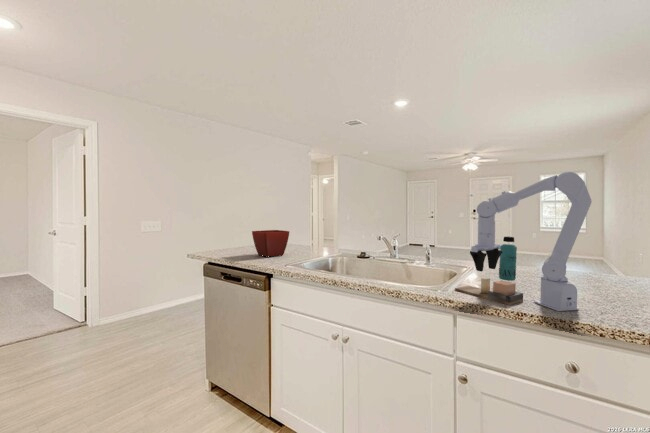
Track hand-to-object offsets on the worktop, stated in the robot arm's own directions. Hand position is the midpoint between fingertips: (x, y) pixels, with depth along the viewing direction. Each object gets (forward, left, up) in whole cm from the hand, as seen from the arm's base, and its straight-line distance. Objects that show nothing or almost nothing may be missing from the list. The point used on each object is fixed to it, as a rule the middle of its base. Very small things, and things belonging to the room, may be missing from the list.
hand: (485, 269), depth 115 cm
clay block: (-4, -1, -8) cm, 9 cm away
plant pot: (+109, +80, -10) cm, 136 cm away
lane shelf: (-1, 0, -9) cm, 9 cm away
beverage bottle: (+15, -22, -10) cm, 28 cm away
